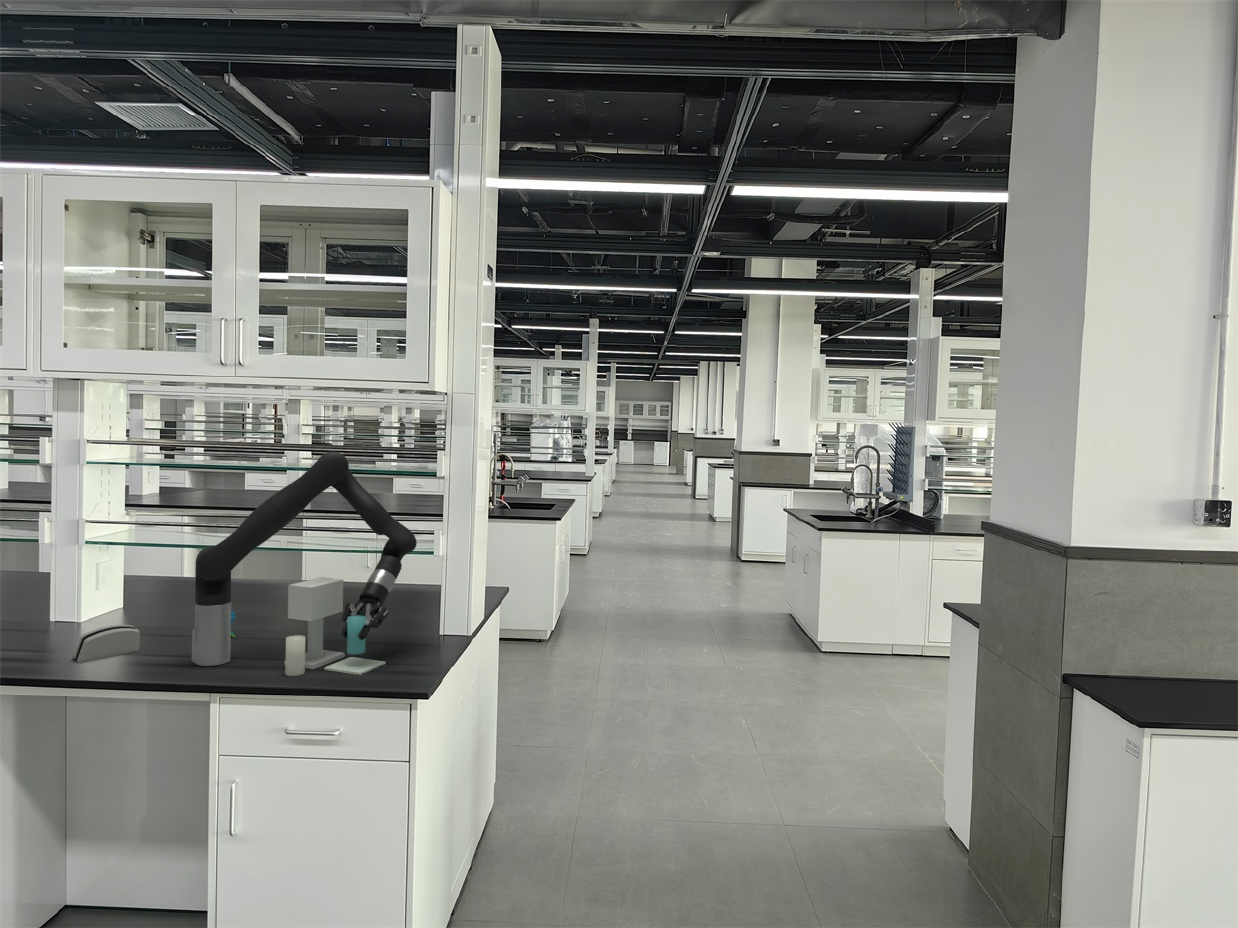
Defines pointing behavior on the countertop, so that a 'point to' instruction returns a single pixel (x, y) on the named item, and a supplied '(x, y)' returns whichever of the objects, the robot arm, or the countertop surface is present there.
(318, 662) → the mounted unit
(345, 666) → the mat
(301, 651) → the cream part
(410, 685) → the countertop surface
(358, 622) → the teal part
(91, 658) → the grey curved piece
